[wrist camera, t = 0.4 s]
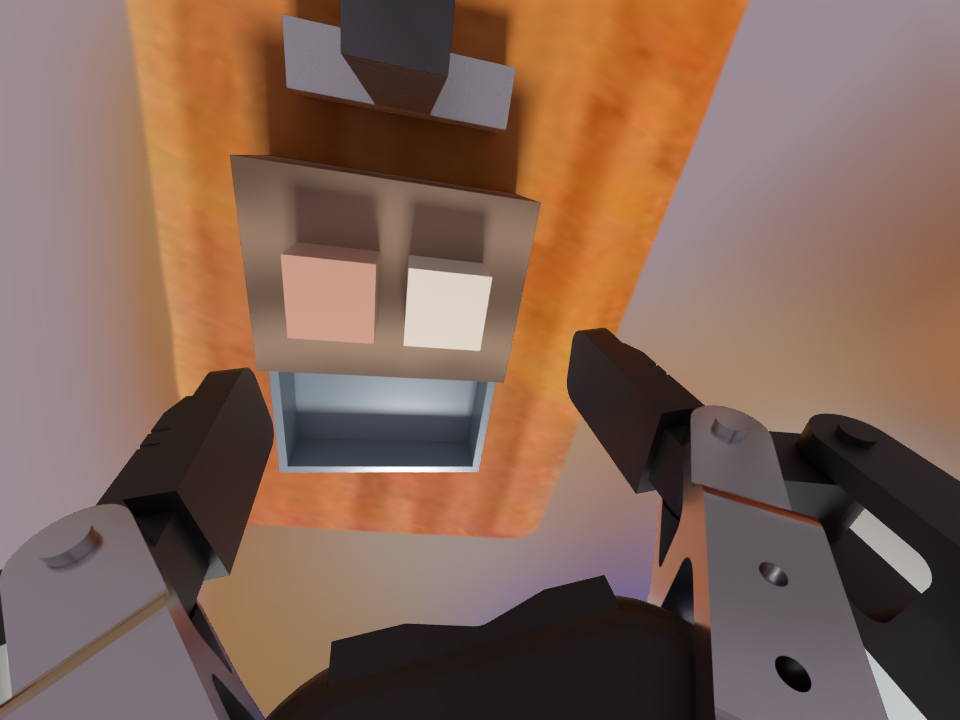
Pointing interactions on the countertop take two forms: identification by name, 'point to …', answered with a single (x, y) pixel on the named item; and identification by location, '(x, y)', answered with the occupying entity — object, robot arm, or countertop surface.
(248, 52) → the countertop surface
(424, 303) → the white block
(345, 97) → the dark grey tall part
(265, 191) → the marbled brown box
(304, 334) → the pink block
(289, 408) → the box
